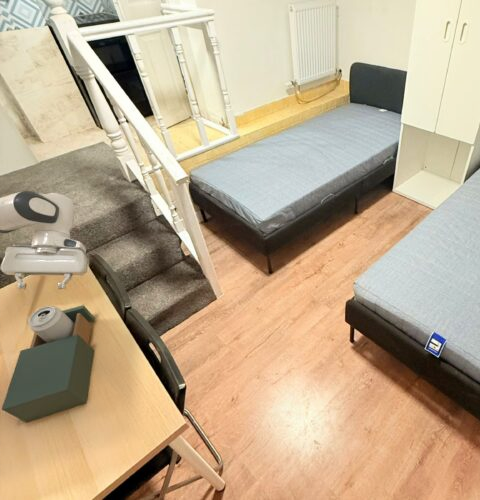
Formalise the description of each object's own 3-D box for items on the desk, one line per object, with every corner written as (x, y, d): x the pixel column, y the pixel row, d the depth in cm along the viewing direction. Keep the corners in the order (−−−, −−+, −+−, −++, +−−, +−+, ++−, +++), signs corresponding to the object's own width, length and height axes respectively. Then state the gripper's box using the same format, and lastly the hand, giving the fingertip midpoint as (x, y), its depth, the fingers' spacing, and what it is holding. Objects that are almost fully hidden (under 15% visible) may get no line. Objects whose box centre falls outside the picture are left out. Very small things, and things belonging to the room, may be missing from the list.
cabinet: (41, 365, 92) (20, 350, 86) (94, 350, 95) (78, 334, 89) (26, 422, 82) (1, 409, 76) (86, 403, 85) (67, 389, 79)
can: (83, 324, 99) (59, 299, 91) (80, 345, 94) (55, 321, 86) (55, 332, 97) (28, 308, 89) (50, 354, 92) (21, 331, 84)
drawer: (51, 327, 100) (36, 314, 95) (96, 315, 103) (84, 301, 98) (38, 375, 89) (21, 363, 85) (88, 359, 92) (75, 347, 87)
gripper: (2, 239, 95) (-10, 286, 91) (86, 242, 102) (79, 286, 97) (12, 247, 101) (2, 292, 96) (92, 249, 108) (85, 291, 103)
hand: (41, 289), depth 97 cm, fingers open, 8 cm apart
